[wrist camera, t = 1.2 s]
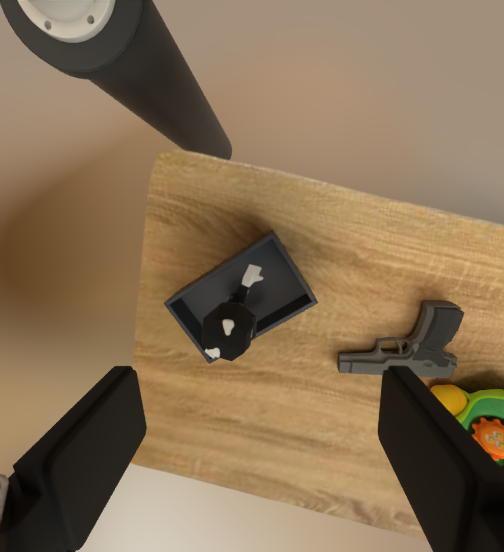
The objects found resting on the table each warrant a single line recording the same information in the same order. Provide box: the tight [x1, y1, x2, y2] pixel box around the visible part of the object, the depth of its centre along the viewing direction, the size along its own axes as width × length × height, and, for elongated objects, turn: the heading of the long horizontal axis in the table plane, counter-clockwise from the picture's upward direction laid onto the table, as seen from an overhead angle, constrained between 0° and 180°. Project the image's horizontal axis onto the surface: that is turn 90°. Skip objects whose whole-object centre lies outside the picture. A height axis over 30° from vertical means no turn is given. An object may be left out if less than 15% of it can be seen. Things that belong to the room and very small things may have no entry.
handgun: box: [338, 301, 464, 379], centre depth 37 cm, size 3×16×12 cm
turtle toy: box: [430, 385, 504, 471], centre depth 36 cm, size 17×23×12 cm
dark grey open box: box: [164, 230, 318, 364], centre depth 36 cm, size 11×18×4 cm, turn 123°
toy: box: [202, 264, 264, 361], centre depth 31 cm, size 13×6×15 cm, turn 153°
